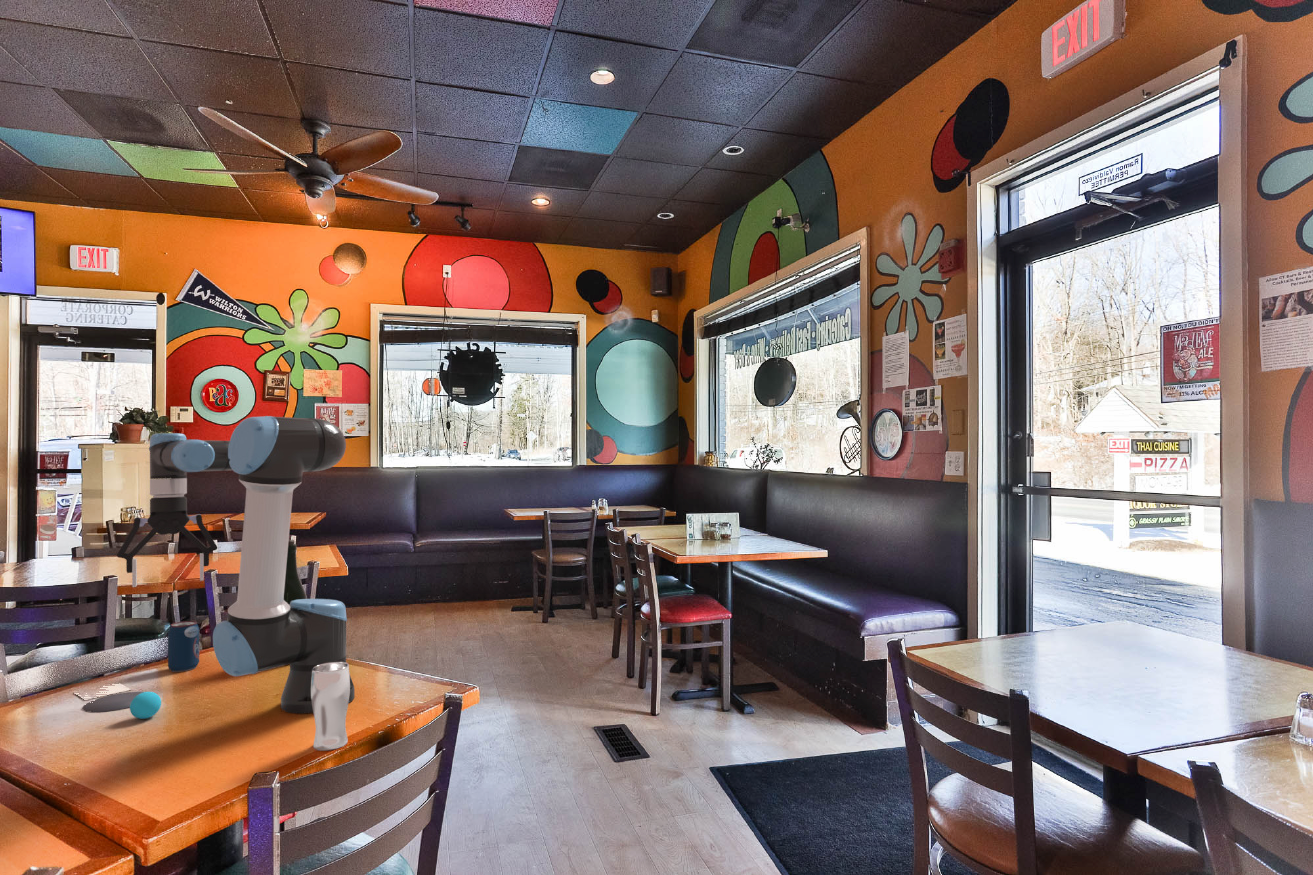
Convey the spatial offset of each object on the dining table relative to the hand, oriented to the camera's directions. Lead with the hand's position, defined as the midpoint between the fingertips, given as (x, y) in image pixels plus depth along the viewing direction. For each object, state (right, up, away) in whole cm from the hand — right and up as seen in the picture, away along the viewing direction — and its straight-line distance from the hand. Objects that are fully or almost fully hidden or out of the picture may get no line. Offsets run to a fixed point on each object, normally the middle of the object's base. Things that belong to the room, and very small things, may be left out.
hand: (168, 583), depth 175 cm
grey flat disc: (-4, -25, -11) cm, 28 cm away
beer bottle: (+18, -26, +21) cm, 38 cm away
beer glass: (+56, -24, -37) cm, 71 cm away
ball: (+10, -22, -21) cm, 32 cm away
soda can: (-6, -26, +14) cm, 30 cm away
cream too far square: (-13, -25, -4) cm, 29 cm away
